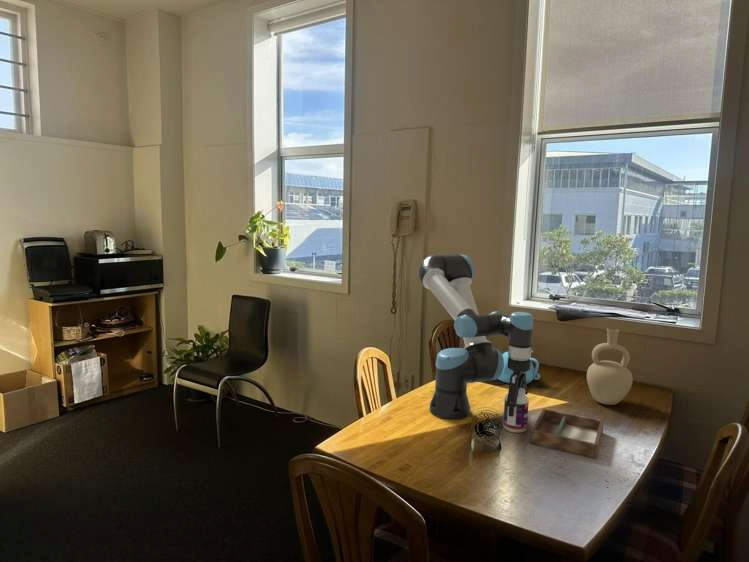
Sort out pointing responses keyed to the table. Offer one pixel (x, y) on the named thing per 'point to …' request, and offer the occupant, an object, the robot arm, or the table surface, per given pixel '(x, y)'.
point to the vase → (609, 373)
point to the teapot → (507, 372)
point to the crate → (568, 433)
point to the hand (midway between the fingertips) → (515, 418)
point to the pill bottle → (518, 413)
